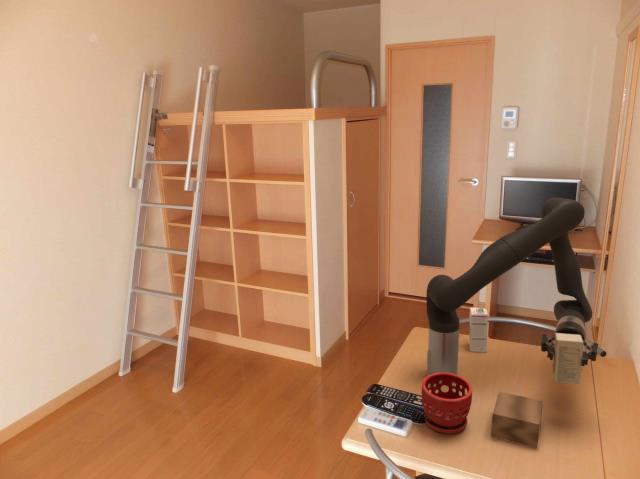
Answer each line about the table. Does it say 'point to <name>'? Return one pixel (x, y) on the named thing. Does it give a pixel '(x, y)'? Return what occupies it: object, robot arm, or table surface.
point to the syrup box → (478, 329)
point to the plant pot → (446, 402)
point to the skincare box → (567, 358)
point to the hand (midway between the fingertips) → (567, 359)
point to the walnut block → (517, 419)
